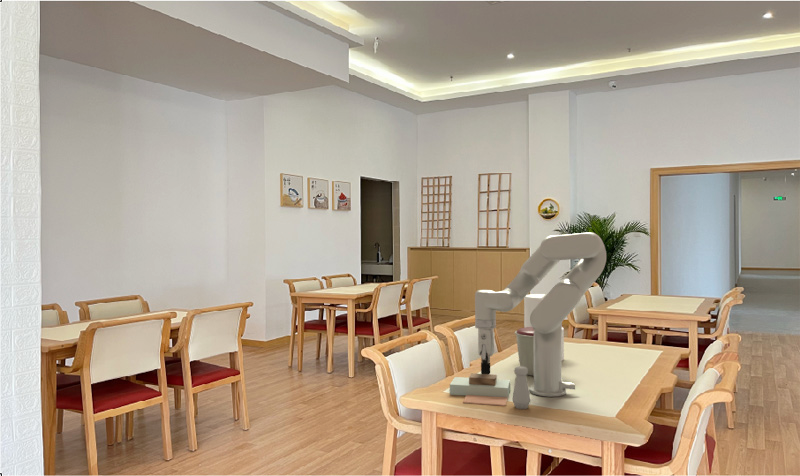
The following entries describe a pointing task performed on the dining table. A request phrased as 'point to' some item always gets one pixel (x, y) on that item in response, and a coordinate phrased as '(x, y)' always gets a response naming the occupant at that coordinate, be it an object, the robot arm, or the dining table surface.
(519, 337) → the canister
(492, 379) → the brown wooden block
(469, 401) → the mat
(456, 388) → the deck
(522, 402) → the salt shaker
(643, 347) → the dining table surface
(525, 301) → the white tall block
